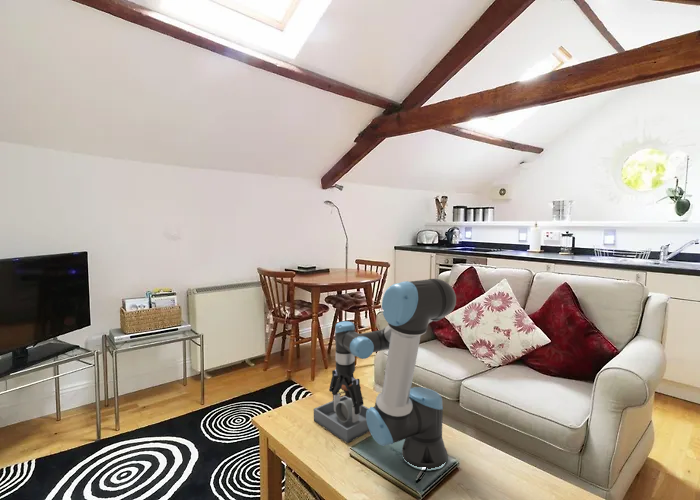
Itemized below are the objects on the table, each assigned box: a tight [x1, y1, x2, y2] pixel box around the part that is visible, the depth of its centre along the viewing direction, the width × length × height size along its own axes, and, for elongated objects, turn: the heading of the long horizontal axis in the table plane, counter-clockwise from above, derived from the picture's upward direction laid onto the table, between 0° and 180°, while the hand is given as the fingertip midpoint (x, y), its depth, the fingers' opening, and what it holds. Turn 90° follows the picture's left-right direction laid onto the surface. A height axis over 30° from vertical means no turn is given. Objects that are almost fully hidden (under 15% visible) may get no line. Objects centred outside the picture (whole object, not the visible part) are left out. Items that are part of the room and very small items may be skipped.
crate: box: [313, 395, 370, 444], centre depth 152 cm, size 21×17×5 cm
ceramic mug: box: [335, 398, 361, 422], centre depth 151 cm, size 11×8×8 cm
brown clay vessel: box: [340, 384, 362, 398], centre depth 175 cm, size 12×10×8 cm
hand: (346, 415), depth 152 cm, fingers closed on ceramic mug, 11 cm apart
